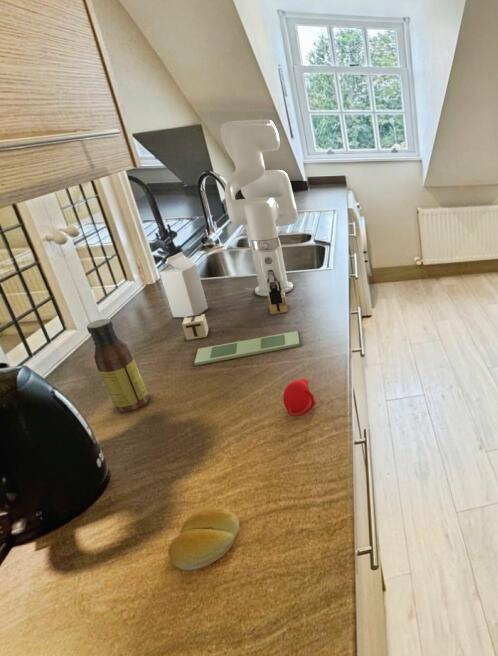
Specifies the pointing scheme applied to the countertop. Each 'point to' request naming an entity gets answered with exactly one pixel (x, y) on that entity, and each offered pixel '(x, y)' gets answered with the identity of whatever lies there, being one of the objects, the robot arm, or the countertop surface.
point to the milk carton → (183, 286)
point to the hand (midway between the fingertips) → (276, 298)
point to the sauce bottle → (117, 367)
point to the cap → (298, 398)
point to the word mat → (246, 348)
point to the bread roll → (204, 538)
